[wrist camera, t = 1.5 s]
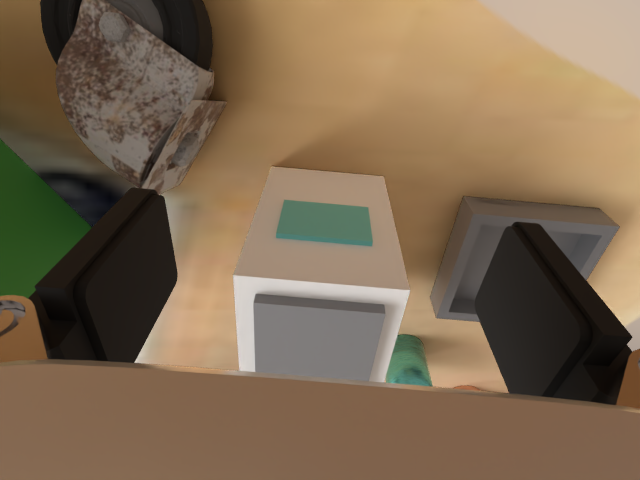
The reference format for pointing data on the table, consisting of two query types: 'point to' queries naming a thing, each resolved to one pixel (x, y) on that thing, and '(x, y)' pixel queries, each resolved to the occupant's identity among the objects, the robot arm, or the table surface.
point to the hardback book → (31, 226)
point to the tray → (485, 233)
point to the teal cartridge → (408, 363)
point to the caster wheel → (135, 82)
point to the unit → (320, 278)
